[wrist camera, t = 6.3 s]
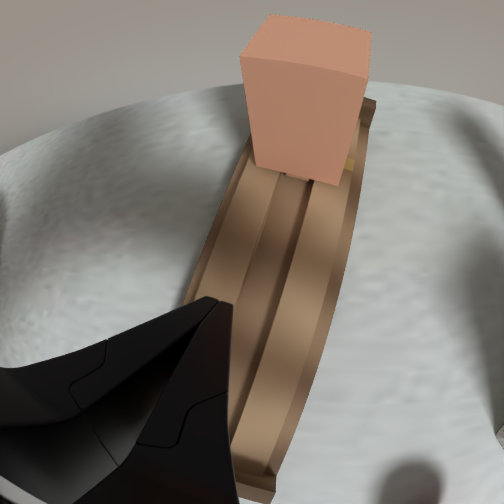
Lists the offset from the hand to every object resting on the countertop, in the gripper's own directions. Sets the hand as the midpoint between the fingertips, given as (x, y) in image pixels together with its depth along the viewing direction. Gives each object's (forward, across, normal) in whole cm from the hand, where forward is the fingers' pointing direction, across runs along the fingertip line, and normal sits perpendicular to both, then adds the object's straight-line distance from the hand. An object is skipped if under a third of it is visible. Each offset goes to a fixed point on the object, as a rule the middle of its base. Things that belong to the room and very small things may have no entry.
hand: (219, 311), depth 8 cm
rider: (+15, 0, -3) cm, 15 cm away
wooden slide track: (+11, 0, +4) cm, 11 cm away
